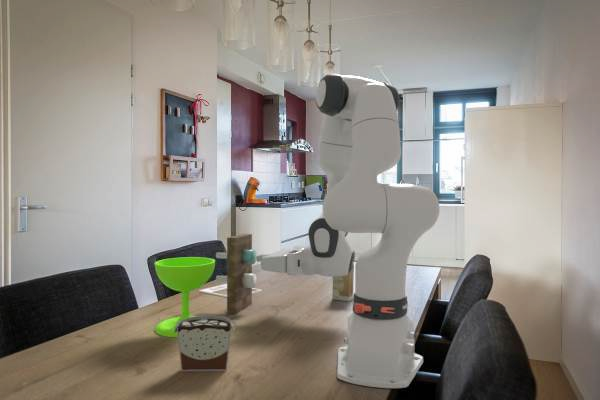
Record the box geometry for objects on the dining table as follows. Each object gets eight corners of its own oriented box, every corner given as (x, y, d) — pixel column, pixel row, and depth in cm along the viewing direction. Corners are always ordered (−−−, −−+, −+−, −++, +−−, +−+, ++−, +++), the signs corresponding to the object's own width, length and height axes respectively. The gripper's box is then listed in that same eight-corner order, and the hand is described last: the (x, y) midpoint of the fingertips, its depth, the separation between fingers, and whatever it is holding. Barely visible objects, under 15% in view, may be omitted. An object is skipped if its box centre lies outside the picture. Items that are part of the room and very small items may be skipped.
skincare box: (331, 299, 149) (332, 264, 149) (336, 296, 153) (337, 262, 153) (349, 301, 146) (349, 265, 146) (354, 299, 150) (354, 263, 150)
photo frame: (227, 283, 172) (262, 289, 162) (227, 285, 172) (262, 292, 162) (199, 289, 160) (234, 297, 150) (199, 292, 160) (234, 300, 150)
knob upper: (256, 262, 138) (256, 249, 138) (250, 265, 134) (250, 250, 134) (220, 260, 142) (220, 247, 142) (213, 263, 138) (213, 249, 138)
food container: (237, 359, 97) (237, 314, 97) (233, 370, 91) (233, 322, 90) (181, 359, 96) (181, 314, 96) (174, 371, 90) (173, 323, 90)
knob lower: (256, 286, 139) (256, 272, 139) (250, 289, 134) (250, 275, 134) (220, 283, 142) (220, 270, 142) (213, 286, 138) (213, 272, 138)
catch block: (251, 303, 143) (251, 234, 143) (236, 313, 132) (236, 237, 131) (243, 303, 144) (243, 233, 144) (227, 312, 133) (227, 237, 132)
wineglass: (153, 322, 123) (153, 258, 123) (210, 316, 129) (210, 255, 129) (156, 340, 108) (155, 268, 108) (220, 333, 114) (220, 264, 114)
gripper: (309, 245, 142) (269, 243, 146) (290, 254, 122) (244, 252, 126) (309, 264, 142) (269, 262, 146) (290, 276, 122) (244, 273, 126)
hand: (258, 257), depth 136 cm, fingers closed
